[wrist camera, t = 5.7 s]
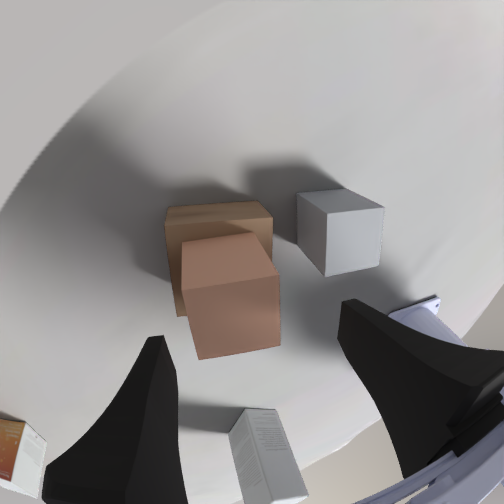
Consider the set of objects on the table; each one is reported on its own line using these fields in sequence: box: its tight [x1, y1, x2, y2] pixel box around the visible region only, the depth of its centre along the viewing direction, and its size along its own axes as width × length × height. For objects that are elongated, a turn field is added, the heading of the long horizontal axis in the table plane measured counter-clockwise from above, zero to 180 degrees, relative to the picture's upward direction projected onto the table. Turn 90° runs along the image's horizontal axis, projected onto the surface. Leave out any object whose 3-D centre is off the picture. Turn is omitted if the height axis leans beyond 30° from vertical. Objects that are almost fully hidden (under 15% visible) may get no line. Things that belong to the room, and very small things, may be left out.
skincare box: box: [228, 409, 309, 504], centre depth 25 cm, size 6×4×12 cm
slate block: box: [296, 189, 385, 277], centre depth 19 cm, size 4×4×5 cm
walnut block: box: [164, 201, 273, 317], centre depth 19 cm, size 6×6×4 cm
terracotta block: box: [181, 232, 280, 360], centre depth 15 cm, size 4×4×5 cm
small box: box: [0, 419, 47, 498], centre depth 21 cm, size 8×6×10 cm
